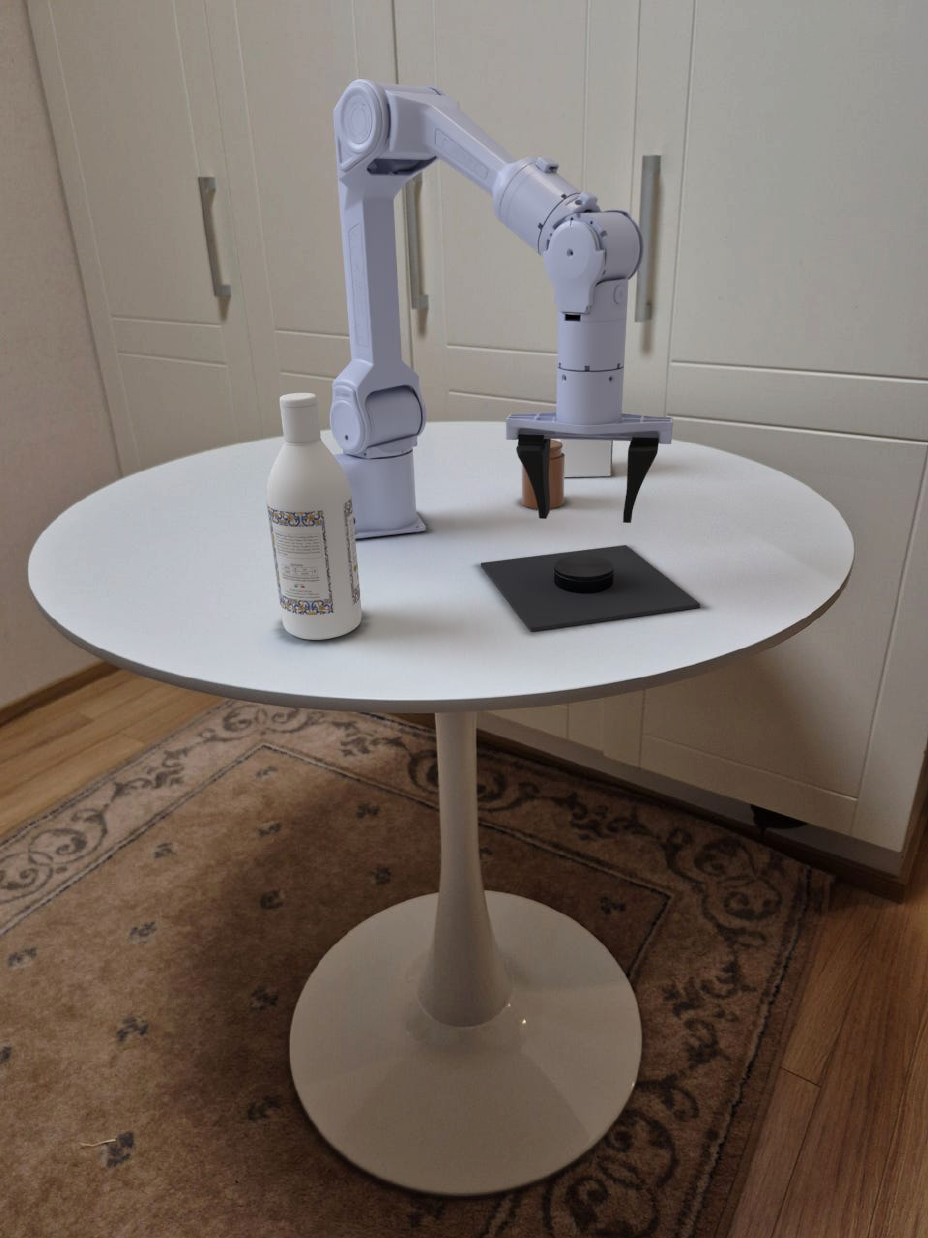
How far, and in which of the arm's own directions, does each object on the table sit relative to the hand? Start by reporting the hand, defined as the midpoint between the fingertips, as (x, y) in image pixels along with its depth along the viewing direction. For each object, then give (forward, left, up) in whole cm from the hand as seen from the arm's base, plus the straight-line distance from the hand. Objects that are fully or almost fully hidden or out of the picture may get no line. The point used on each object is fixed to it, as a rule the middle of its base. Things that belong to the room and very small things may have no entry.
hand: (585, 517), depth 79 cm
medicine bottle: (+15, +38, -7) cm, 41 cm away
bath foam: (-25, -1, -7) cm, 26 cm away
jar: (+5, +26, -7) cm, 27 cm away
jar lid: (0, 0, -5) cm, 5 cm away
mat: (0, 0, -7) cm, 7 cm away
